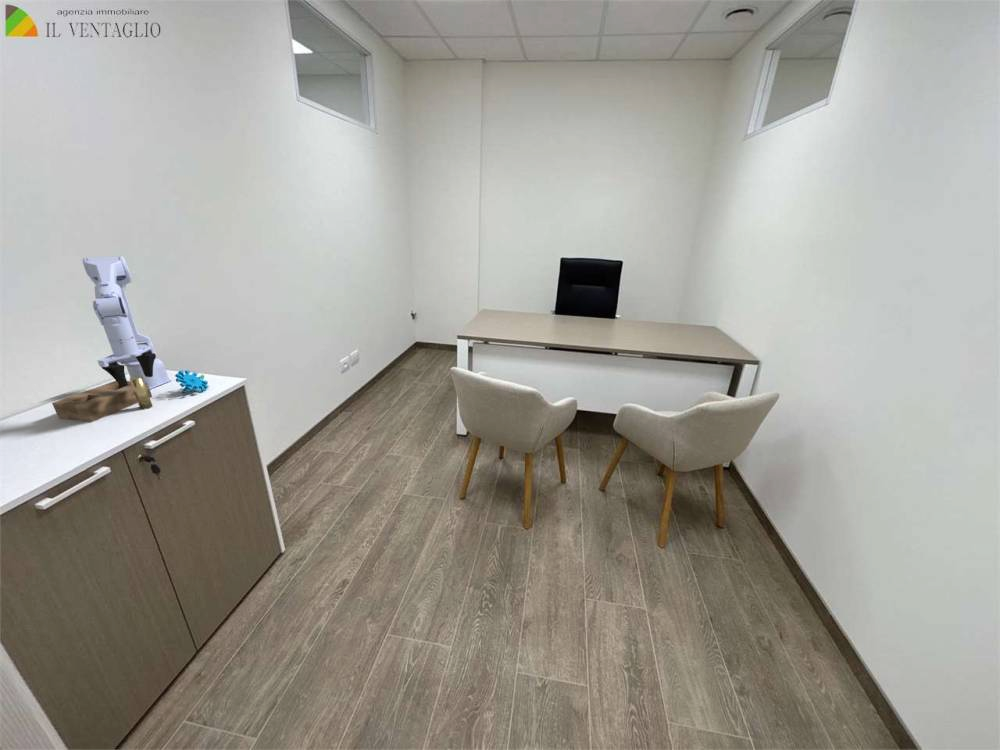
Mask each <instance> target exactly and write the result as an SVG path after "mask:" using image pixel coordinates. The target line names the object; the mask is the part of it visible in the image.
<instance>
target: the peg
mask: <svg viewBox="0 0 1000 750" xmlns="http://www.w3.org/2000/svg"><path fill="white" fill-rule="evenodd" d="M129 381H130V382H131V385H132V388H133V390H134V393H135V396H136V398H137V401H138V403H137V404H138V406H139V407H138V408H139V409H140V410H147V409H150V408H153V403H152V400H151V397H149V394H148V391H147V389H146V386H145V383H144V380H143V377H142V376H137V377H132V378H130V377H129Z"/></svg>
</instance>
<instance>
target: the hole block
mask: <svg viewBox="0 0 1000 750" xmlns="http://www.w3.org/2000/svg"><path fill="white" fill-rule="evenodd" d="M127 383H128V386H125V387H124V386H120V385H119V384H118V382H117V381H116V380H114V381H111V382H108V383H105V384H102V385H100V386H96V387H94V388H90V389H89V390H85V391H82V392H79V393H77V394H74V395H70V396H68V397H66V398H65V397H64V398H62V399H59V400H57V401H54V402H52V403H51V404H52V407H53V409H54V411H55V414H56V415H57V418H58V419H62V420H63V419H65V420H71V421H72V420H73V421H80V422H88V423H89V422H91V423H93V422H94V421H97V420H100V419H102V418H104V417H107V416H109V415H111V414H114V413H116V412H119V411H121V410H123V409H127V408H129V407H131V406H133V405H136V404H138V401H137V398H136V396H135V393H134V390H133V388H132V385H131V382H130V380H127ZM145 386H146V389H147V391H148V394H149V397H150V398H151V397H153V395H152V391H151V389H149V386H148V383H145Z"/></svg>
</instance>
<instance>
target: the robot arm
mask: <svg viewBox="0 0 1000 750" xmlns="http://www.w3.org/2000/svg"><path fill="white" fill-rule="evenodd" d="M82 264H83V268H84V271H85V273H86V274H87V276H88V277H89V279H90V281H92V282H93V284H94V285H95V286H94V296H95V300H92V308H93V310H94V314H95V315H96V317H97V318H98V320H99V322H100V325H101V326H102V327H103V330H104V332H105V335H106V337H107V339H108V343H109V345H110V347H111V350H112V353H113V354H110V355H107V356H106V357H103V358H100V359H97V364H98V366H99V367H101V369H103V370H104V371H106V372H107V374H109V375H110V377H112V378H113V379H114V381H117V382H118V384H119V385H120V386H124V387H125V386H128V383H127V381H128V379H127V378H126V373H125V372H126V371H125V367H126V370H127V372H128V374H129V379H130V378H132V377H137V376H142V377H143V380H144V383H148V386H149V389H150V390H152V389H154V388H156V387H159V386H162V385H165V384H167V383H169V382H171V381H172V379H169V378H170V377H169V376H168V373H167V370H166V367H165V364H164V362H163V361H162V360H161V359H159V358H157V352H156V349H155V346H154V344H153V341H152V339H151V338H150V337H149V336H147V335H144V334H143V333H139V331H138V327H137V324H136V321H135V318H134V315H133V311H132V308H131V305H130V302H129V299H128V296H127V292H126V290H127V289H126V287H127V286H126V285H128V284H130V283H132V276H131V273H130V268H129V266H128V263H127V260H126V258H125V257H124V256H122V255H120V256H99V257H96V256H94V257H87V256H85V257H83V258H82Z"/></svg>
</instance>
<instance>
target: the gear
mask: <svg viewBox="0 0 1000 750" xmlns="http://www.w3.org/2000/svg"><path fill="white" fill-rule="evenodd" d="M190 373H191V371H190V370H188V369H185V371H183V370H179V371H178V372H177V373H176V374H175V375H174V377H175V378H176V379H175V382H177V383H179V386H180V387H181V388H183V389H182V390H181V391H182V392H183V393H186V392H187V391H189V392H192V390H193V389H195V390H194V392H195V393H197V394H199V393H200V392H201V391H205V390H206V391H207V389H208V388H209V387H210V386H209V385H208V381H207V380H204V379H205V375H204V374H201V375H200V376H197V375H198V373H197V372H195V371H193V372H192V373H191V374H190ZM205 388H207V389H205ZM185 391H186V392H185ZM206 391H205V392H206Z"/></svg>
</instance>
